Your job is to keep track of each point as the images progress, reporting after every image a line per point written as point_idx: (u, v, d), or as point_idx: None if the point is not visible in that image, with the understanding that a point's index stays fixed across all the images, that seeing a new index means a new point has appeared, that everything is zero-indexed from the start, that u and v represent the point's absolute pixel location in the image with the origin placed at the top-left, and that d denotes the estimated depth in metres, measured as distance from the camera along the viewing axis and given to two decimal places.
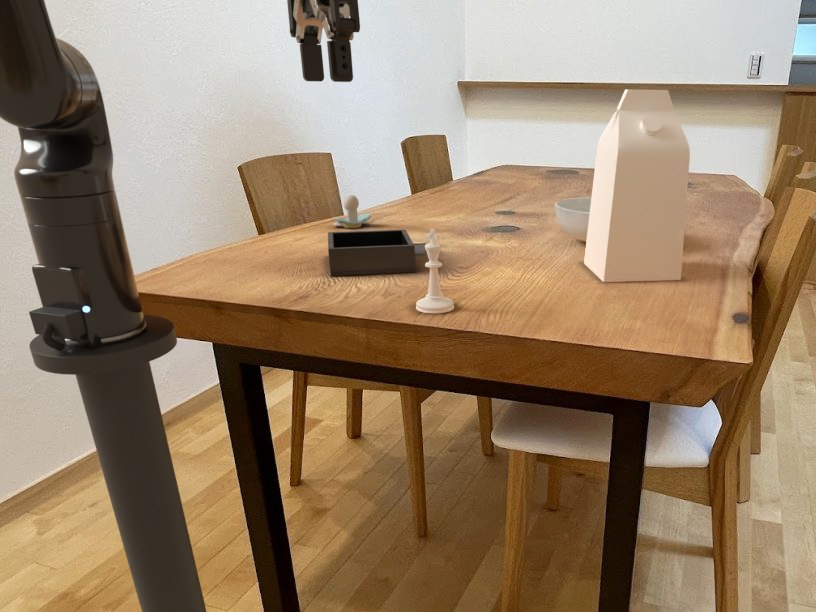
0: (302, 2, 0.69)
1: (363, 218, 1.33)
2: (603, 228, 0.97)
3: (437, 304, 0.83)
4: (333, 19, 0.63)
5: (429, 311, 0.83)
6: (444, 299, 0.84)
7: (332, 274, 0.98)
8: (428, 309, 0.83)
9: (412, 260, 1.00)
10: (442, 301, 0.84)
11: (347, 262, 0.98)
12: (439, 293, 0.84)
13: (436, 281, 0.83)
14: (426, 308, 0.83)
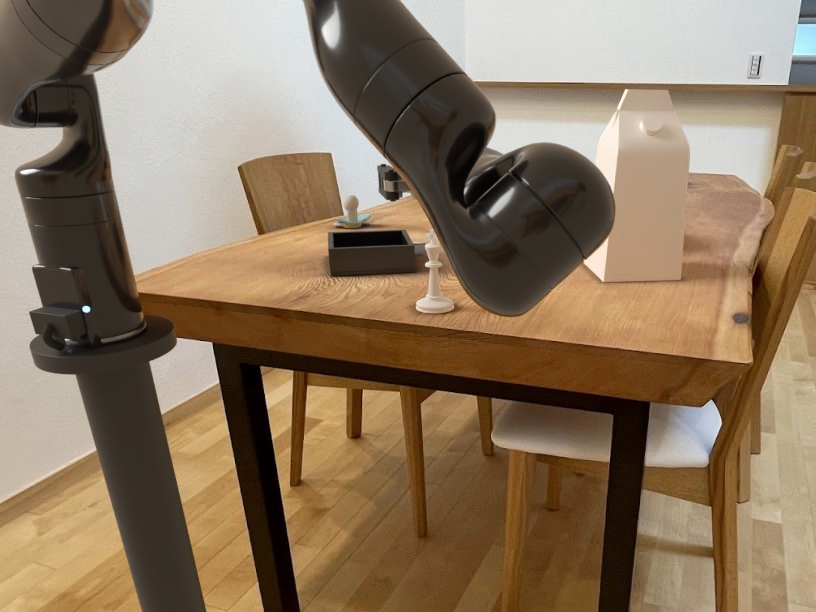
0: None
1: (363, 218, 1.33)
2: None
3: (437, 304, 0.83)
4: (384, 166, 0.62)
5: (429, 311, 0.83)
6: (444, 299, 0.84)
7: (332, 274, 0.98)
8: (428, 309, 0.83)
9: (412, 260, 1.00)
10: (442, 301, 0.84)
11: (347, 262, 0.98)
12: (439, 293, 0.84)
13: (436, 281, 0.83)
14: (426, 308, 0.83)
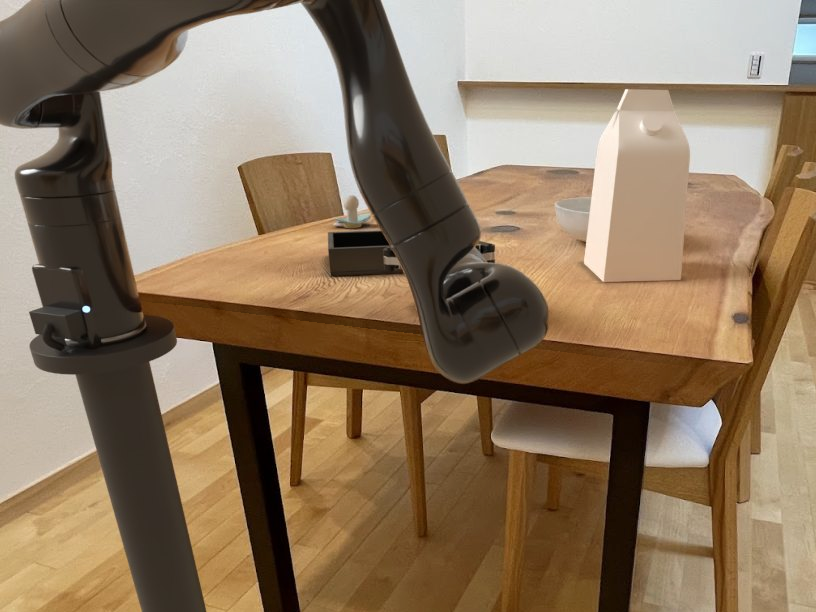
0: None
1: (363, 218, 1.33)
2: (603, 228, 0.97)
3: None
4: None
5: None
6: None
7: (332, 274, 0.98)
8: None
9: None
10: None
11: (347, 262, 0.98)
12: None
13: None
14: None
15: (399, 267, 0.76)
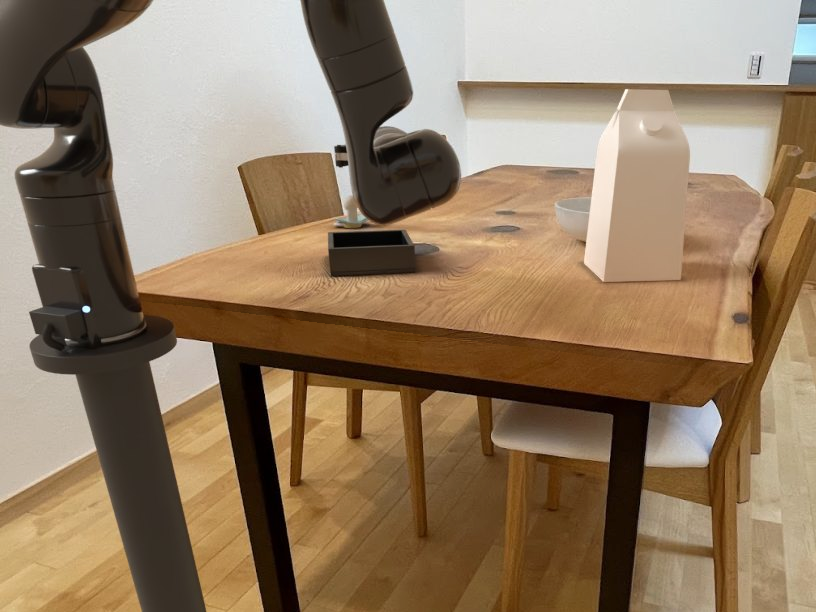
0: None
1: (363, 218, 1.33)
2: (603, 228, 0.97)
3: None
4: None
5: None
6: None
7: (332, 274, 0.98)
8: None
9: (412, 260, 1.00)
10: None
11: (347, 262, 0.98)
12: None
13: None
14: None
15: None
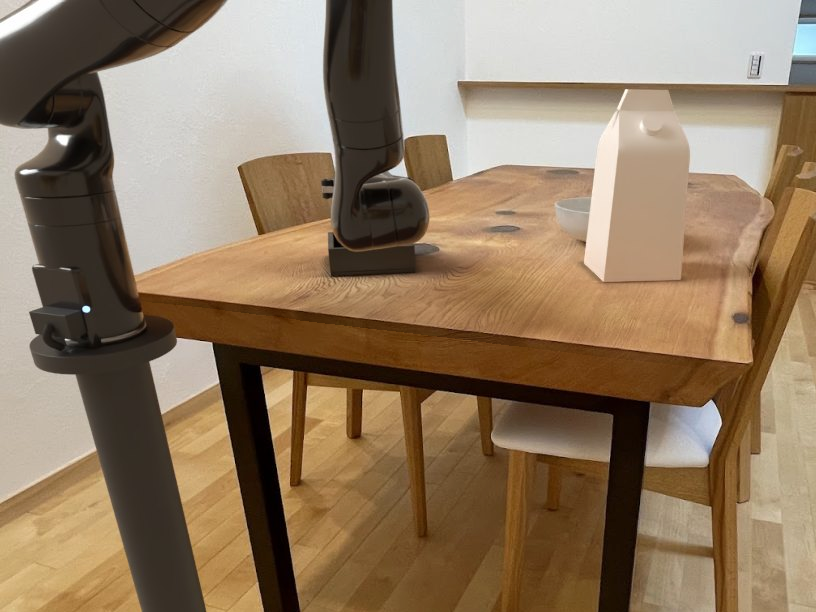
0: None
1: None
2: (603, 228, 0.97)
3: None
4: None
5: None
6: None
7: (332, 274, 0.98)
8: None
9: (412, 260, 1.00)
10: None
11: (347, 262, 0.98)
12: None
13: None
14: None
15: None
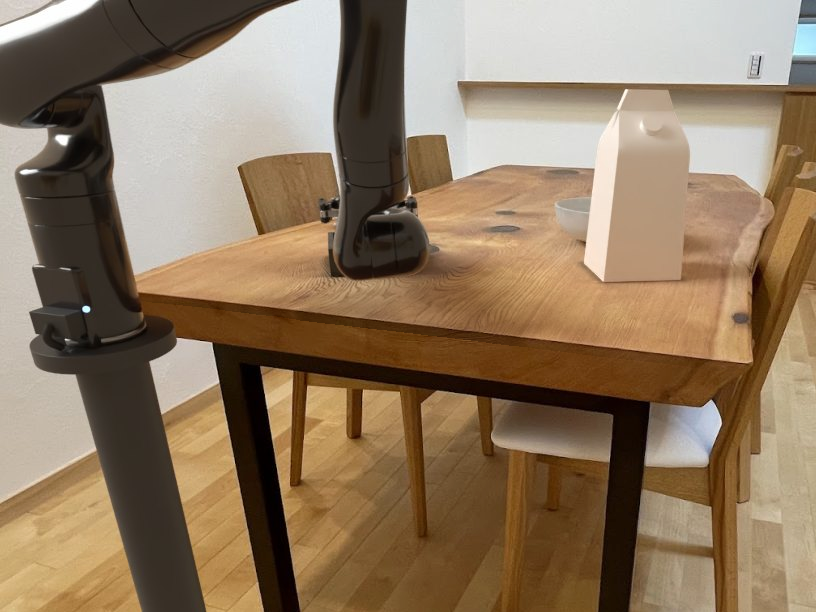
0: None
1: None
2: (603, 228, 0.97)
3: None
4: (322, 199, 0.96)
5: None
6: None
7: (332, 274, 0.98)
8: None
9: None
10: None
11: None
12: None
13: None
14: None
15: (331, 219, 0.94)
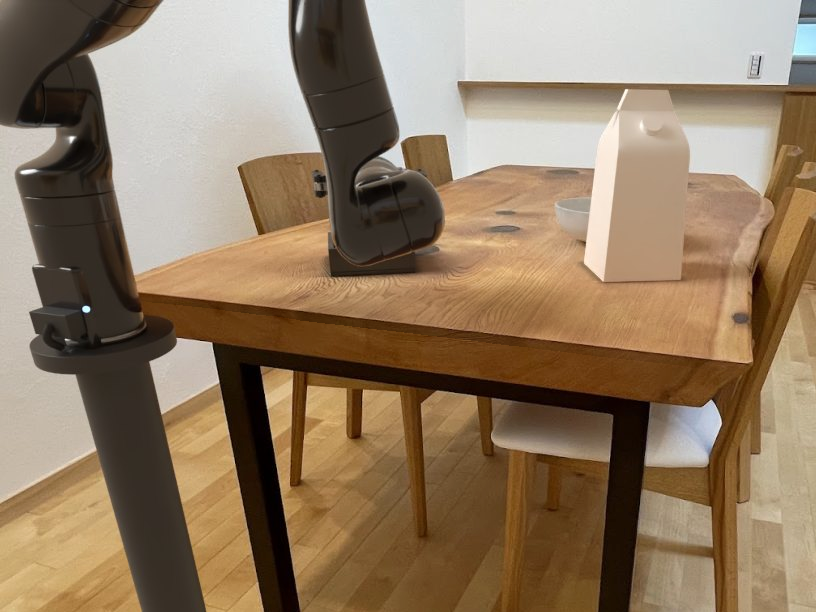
0: None
1: None
2: (603, 228, 0.97)
3: None
4: (317, 171, 0.83)
5: None
6: None
7: (332, 274, 0.98)
8: None
9: (412, 260, 1.00)
10: None
11: (347, 262, 0.98)
12: None
13: None
14: None
15: (327, 193, 0.81)
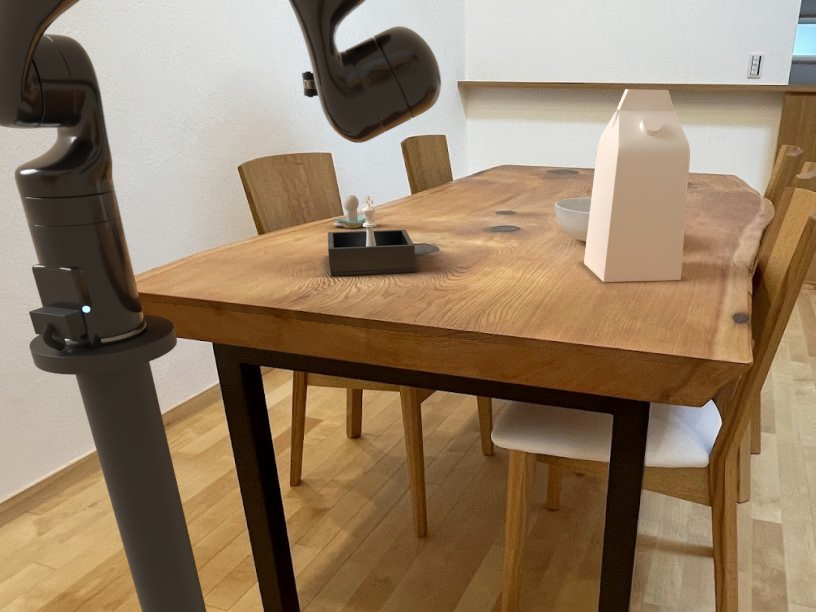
0: None
1: (363, 218, 1.33)
2: (603, 228, 0.97)
3: None
4: None
5: None
6: None
7: (332, 274, 0.98)
8: None
9: (412, 260, 1.00)
10: None
11: (347, 262, 0.98)
12: None
13: (372, 238, 1.03)
14: None
15: (318, 94, 0.77)
